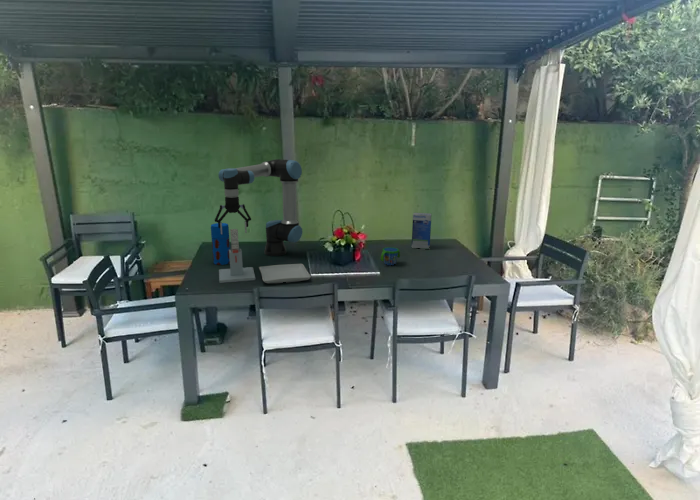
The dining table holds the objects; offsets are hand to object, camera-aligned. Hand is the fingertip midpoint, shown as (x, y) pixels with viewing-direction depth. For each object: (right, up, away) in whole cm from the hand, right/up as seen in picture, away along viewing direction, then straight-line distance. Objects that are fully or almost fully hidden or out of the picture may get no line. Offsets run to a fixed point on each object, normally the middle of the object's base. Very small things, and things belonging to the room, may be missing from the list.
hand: (233, 233), depth 254 cm
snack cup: (+93, -19, +33) cm, 101 cm away
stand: (0, -25, +8) cm, 26 cm away
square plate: (+28, -26, +8) cm, 39 cm away
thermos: (-16, -18, +32) cm, 40 cm away
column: (0, -23, +7) cm, 24 cm away
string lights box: (+119, -9, +72) cm, 139 cm away
